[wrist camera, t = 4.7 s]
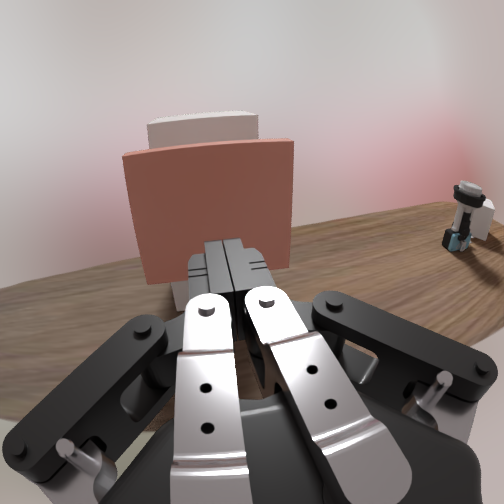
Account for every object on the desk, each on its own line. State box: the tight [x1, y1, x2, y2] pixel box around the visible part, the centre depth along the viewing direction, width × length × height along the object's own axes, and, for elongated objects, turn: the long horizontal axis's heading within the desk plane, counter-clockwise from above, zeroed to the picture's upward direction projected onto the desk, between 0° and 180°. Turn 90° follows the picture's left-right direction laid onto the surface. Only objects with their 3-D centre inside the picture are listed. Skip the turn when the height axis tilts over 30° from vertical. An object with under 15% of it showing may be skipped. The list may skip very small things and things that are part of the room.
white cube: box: [470, 199, 495, 241], centre depth 40 cm, size 6×6×6 cm
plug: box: [122, 138, 294, 285], centre depth 19 cm, size 8×9×8 cm
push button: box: [442, 181, 486, 252], centre depth 34 cm, size 7×5×10 cm
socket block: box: [147, 111, 258, 311], centre depth 26 cm, size 7×8×17 cm
